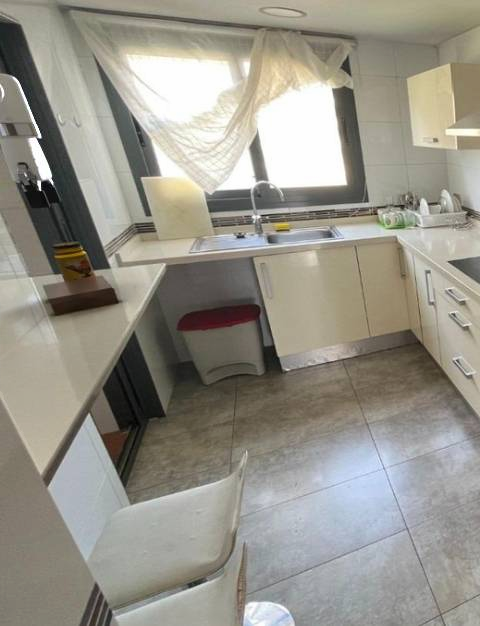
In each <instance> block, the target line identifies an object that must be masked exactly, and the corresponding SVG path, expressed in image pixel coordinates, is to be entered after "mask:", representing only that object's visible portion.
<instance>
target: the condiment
mask: <svg viewBox="0 0 480 626" xmlns="http://www.w3.org/2000/svg"><path fill="white" fill-rule="evenodd" d="M51 247H52V249H53V253H54V260H55V262H56V265H57V267H58V269H59V272H60V274H61V276H62V278H63V282H66V281H72V280H78V279H84V278H90V277H96V276H97V275H96V274H95V272H94V271H95V270H94V269H93V265H92V264H91V261H90V258H89V256H88V254H87V252H86V251H84V248H83V245H81V243H80V241H66V242H58V243H55V244H52V246H51Z"/></svg>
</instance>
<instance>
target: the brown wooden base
mask: <svg viewBox="0 0 480 626" xmlns="http://www.w3.org/2000/svg"><path fill="white" fill-rule="evenodd" d="M95 276H96V277H90V278H84V279H78V280H72V281H66V282H65V281H60V282H55V283H48V284H43V285H42V288H43V291H44V293H45V295H46V298H47V300H48V304H49V305H50V307H51V309H52V311H53V314H54V316H55V317H56V316H61V315H65V314H71V313H75V312H80V311H85V310H90V309H95V308H100V307H105V306H110V305H114V304H119V303H120V301H119V299H118V295H117V294H116V291H115V288H114V287H113V285H112V284H111V283H110V282H109V281H108V279H107V278H105V276H103V275H95Z"/></svg>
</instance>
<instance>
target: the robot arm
mask: <svg viewBox="0 0 480 626" xmlns="http://www.w3.org/2000/svg"><path fill="white" fill-rule="evenodd" d="M37 139H42V135H41V133H40V130H39V128H38V125H37V124H36V121H35V119H34V116H33V113H32V110H31V109H30V106H29V102H28V101H27V98H26V95H25V93H24V91H23V89H22V86H21V84H20V81H19V80H18V79H17V77H15V76H14V75H11V74H8V73H0V148H1V152H2V154H3V158H4V160H5V163H6V165H7V168H8V170H9V171H8V172H9V173H10V176H11V178H12V180H13V181H14V182H15V183H17V184H19V183H20V185H21V187H22V191H23V192H24V195H25V197H26V199H27V200H26V201H28V204H29V207H30V208H31V209H49V208H50V207H51V204H59V203H61V202H62V199H61V196H60V195H59V192H58V190H57V188H56V186H55V183H54V181H53V180H52V178H53V174H52V171H51V169H50V165H49V163H48V160H47V159H46V156H45V154H44V152H43V150H42V147H41V145H40V144H39V142H38V140H37Z"/></svg>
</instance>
